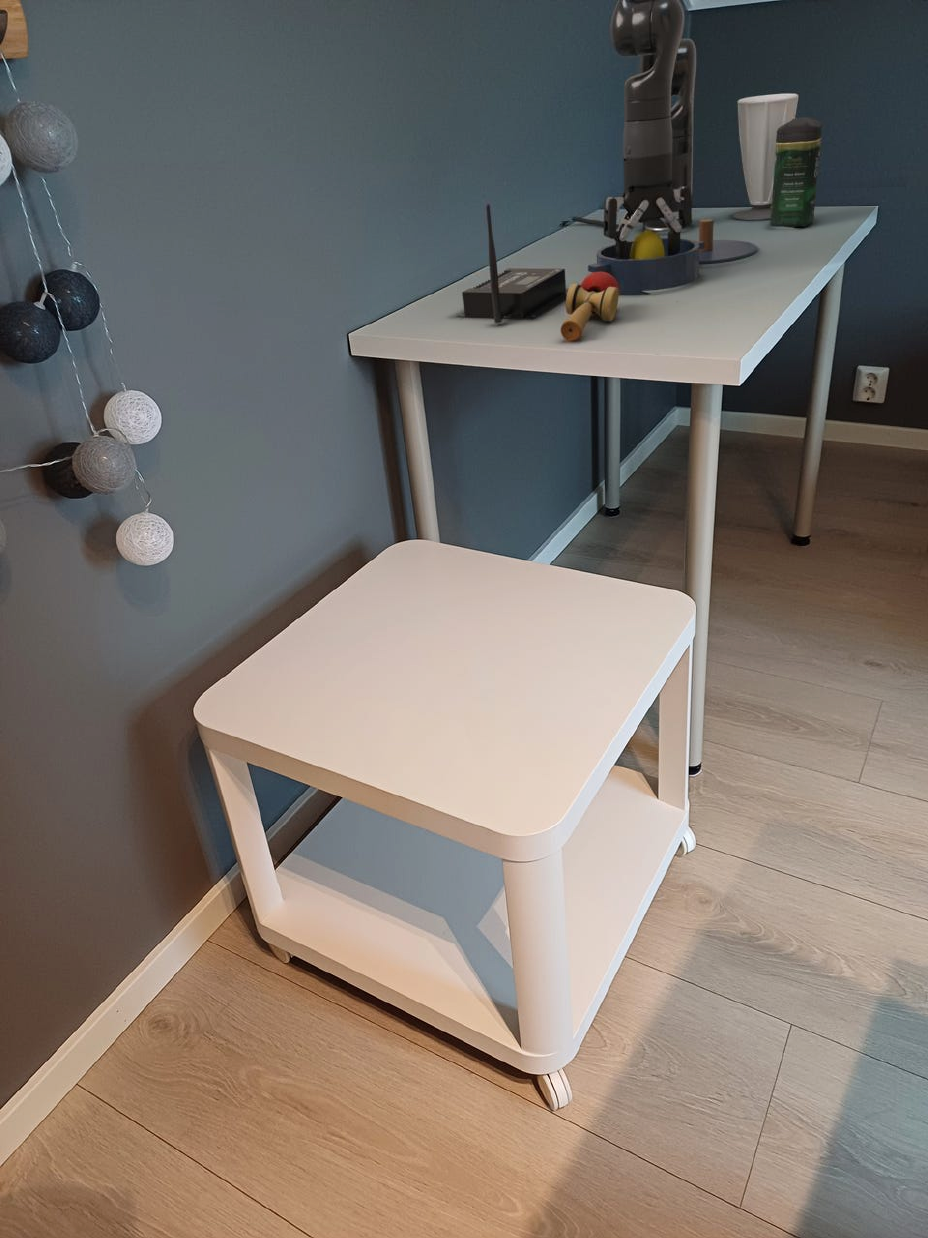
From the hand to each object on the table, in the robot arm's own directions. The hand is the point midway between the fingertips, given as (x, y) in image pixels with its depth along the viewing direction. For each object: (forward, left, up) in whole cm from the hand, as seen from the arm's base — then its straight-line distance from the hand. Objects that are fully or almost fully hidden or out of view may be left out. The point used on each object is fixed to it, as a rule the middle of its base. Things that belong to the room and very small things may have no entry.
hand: (647, 260), depth 155 cm
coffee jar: (-15, +46, -4) cm, 49 cm away
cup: (-28, +50, -4) cm, 58 cm away
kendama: (+14, -21, -4) cm, 25 cm away
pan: (0, 0, -4) cm, 4 cm away
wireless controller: (-4, -24, -4) cm, 25 cm away
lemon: (0, 0, -3) cm, 3 cm away
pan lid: (-7, +18, -3) cm, 20 cm away
